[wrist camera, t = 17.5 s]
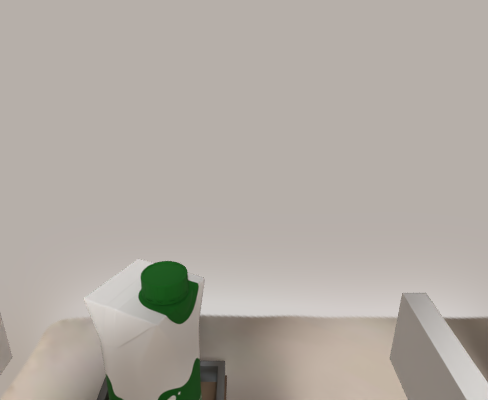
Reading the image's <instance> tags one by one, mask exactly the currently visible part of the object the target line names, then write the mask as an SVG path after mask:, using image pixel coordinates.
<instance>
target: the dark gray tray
mask: <svg viewBox="0 0 488 400" xmlns="http://www.w3.org/2000/svg"><path fill="white" fill-rule="evenodd" d="M200 378H201V393H202V400H226V388H227V375H225V361H200ZM97 400H109V394H108V388H107V381H106V377H105V380H104V382H103V385H102V388H101V390H100V393H99V395H98V398H97Z"/></svg>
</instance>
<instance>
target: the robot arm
mask: <svg viewBox="0 0 488 400" xmlns="http://www.w3.org/2000/svg"><path fill="white" fill-rule="evenodd" d="M11 359H12V354H11V351H10V347H9V343H8V339H7V336H6V332H5V329H4V325H3V322H2V318H1V314H0V375H1V373H2V372H3V370H4V369H5V367H6V366H7V365H8V363H9V362H10V360H11ZM390 360H391V362H392V365H393V367H394V369H395V371H396V374H397V376H398V378H399V380H400V383H401V385H402V387H403V389H404V392H405V394H406V396H407V398H408V400H488V382H487V381H486V379H485V378H484V376H483V375H482V374H481V372H480V371H479V369H478V368H477V366H476V365H475V363H474V362H473V360H472V359H471V358H470V356H469V355H468V353H467V352H466V350H465V349H464V347H463V346H462V344H461V343H460V342H459V340H458V339H457V337H456V336H455V334H454V333H453V331H452V330H451V329H450V327H449V326H448V324H447V323H446V321H445V320H444V318H443V317H442V315H441V314H440V313H439V311H438V310H437V308H436V307H435V305H434V304H433V302H432V301H431V299H430V298H429V297H428V295H427V294H426V293H402V298H401V303H400V308H399V314H398V319H397V324H396V329H395V334H394V339H393V344H392V349H391V354H390Z"/></svg>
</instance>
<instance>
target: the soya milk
mask: <svg viewBox="0 0 488 400" xmlns="http://www.w3.org/2000/svg"><path fill="white" fill-rule="evenodd" d="M203 288H204V277H201V276H198V275H194V274H191V273H188V272H187V269H186V267H185V266H183V265H182V264H180V263H177V262H172V261H162V262H157V263H152V262H148V261H145V260H142V259H138V260H136V261H135V262H133V263H132V264H130V265H129V266H128V267H126V268H125V269H123V270H122V271H121V272H120V273H118V274H117V275H115V276H114V277H112V278H111V279H110V280H108V281H107V282H106V283H104V284H103V285H101V286H100V287H99V288H97V289H96V290H94V291H93V292H92V293H90V294H89V295H87V296H86V297H85V298H83V299H84V301H85V304H86V306H87V308H88V311H89V314H90V316H91V318H92V321H93V323H94V326H95V328H96V330H97V333H98V335H99V338H100V342H101V348H102V355H103V361H104V368H105V374H106V381H107V388H108V394H109V400H202V393H201V378H200V348H199V318H200V309H201V302H202V295H203Z"/></svg>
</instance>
